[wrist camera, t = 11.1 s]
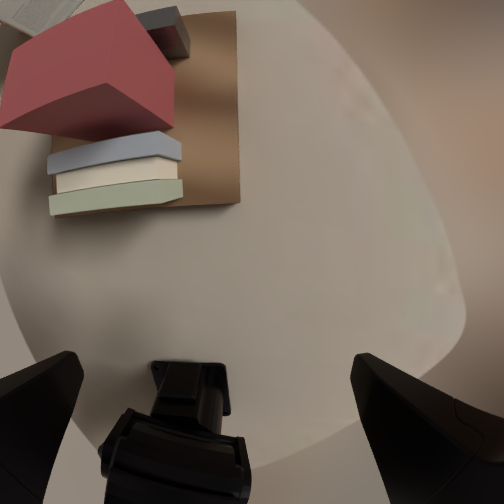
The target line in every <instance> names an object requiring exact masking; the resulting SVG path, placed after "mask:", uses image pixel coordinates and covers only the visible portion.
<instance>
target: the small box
mask: <svg viewBox="0 0 504 504" xmlns="http://www.w3.org/2000/svg"><path fill="white" fill-rule="evenodd" d="M83 1H84V0H0V23H2V24H5V25H7V26H9V27H11V28H13V29H15V30H17V31H20V32H22V33H24V34H26V35H28V36H30V37H32V38H33V37H35V36H36V35H38V34H40V33H42V32H43V31H45V30H47V29H49V28H51V27H53V26H55V25H56V24H58V23H60V22H62V21H65V20H66V19H67V18H68V17H69V16H70V15H71V14H72V13H73V11H74V10H75V9H76V8H77V7H78V6H79V5H80V4H81V3H82V2H83Z"/></svg>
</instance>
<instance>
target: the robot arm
mask: <svg viewBox="0 0 504 504" xmlns="http://www.w3.org/2000/svg"><path fill="white" fill-rule="evenodd" d="M155 366H157V367H159V368H157V367H155ZM219 368H220V369H222V370H218V369H219ZM151 370H152V373H153V377H154V380H155V383H156V386H157V390H158V393H157V396H156V399H155V401H154V404H153V407H152V410H151V413H150V415H149V416H147V415H144V414H141V413H139V412H136V411H135V410H133V409H131V408H128V409H127V410H126V412H125V413H124V414H122V415H121V417H120V418H119V420H118V421H117V423H116V424H115V426H114V428H113V429H112V431H111V432H110V434H109V435H108V437H107V438H106V440H105V442H104V443H102V444H101V445H100V446H99V448H98V455H99V456H100V458H101V475H102V476H103V477H105V478H107V485H106V492H105V499H104V504H247V502H248V500H249V496H250V491H251V469H250V464H249V459H248V454H247V449H246V444H245V439H244V437H238V436H237V437H231V436H225V435H221V427H222V416H229V415H230V414H231V406H230V398H229V389H228V380H227V371H226V366H225V365H224V364H222V363H184V362H164V361H154V362H153V363H152V365H151ZM83 378H84V371H83V369H82V366H81V364H80V361H79V359H78V356H77V354H76V353H75V352H71V351H63V352H61V353H59V354H56V355H54V356H52V357H49V358H47V359H45V360H43V361H40V362H38V363H36V364H34V365H31V366H29V367H27V368H24V369H22V370H20V371H18V372H15V373H13V374H11V375H8V376H6V377H4V378H1V379H0V504H43V499H44V495H45V492H46V488H47V485H48V481H49V478H50V475H51V471H52V468H53V465H54V462H55V459H56V456H57V453H58V450H59V447H60V444H61V442H62V439H63V436H64V433H65V431H66V428H67V426H68V423H69V421H70V418H71V416H72V413H73V410H74V407H75V404H76V400H77V397H78V394H79V391H80V387H81V384H82V381H83ZM350 380H351V385H352V388H353V392H354V396H355V400H356V404H357V408H358V412H359V416H360V420H361V423H362V425H363V428H364V431H365V433H366V436H367V439H368V441H369V444H370V447H371V449H372V452H373V455H374V458H375V460H376V463H377V466H378V468H379V471H380V474H381V477H382V480H383V482H384V486H385V489H386V491H387V494H388V497H389V500H390V503H391V504H504V418H502V417H499V416H496V415H493V414H490V413H488V412H485V411H482V410H480V409H477V408H475V407H473V406H470V405H468V404H466V403H464V402H462V401H460V400H458V399H456V398H455V399H454V398H453V397H452V396H450V395H448V394H446V393H444V392H442V391H440V390H438V389H436V388H434V387H432V386H430V385H428V384H426V383H424V382H422V381H420V380H419V379H417V378H415V377H413V376H411V375H409V374H407V373H405V372H403V371H401V370H400V369H398V368H396V367H394V366H392V365H390V364H388V363H387V362H385V361H383V360H381V359H379V358H377V357H375V356H374V355H372V354H370V353H361V354H357V355H356V356H355V357H354V361H353V366H352V370H351V375H350ZM225 411H227V412H225Z"/></svg>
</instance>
